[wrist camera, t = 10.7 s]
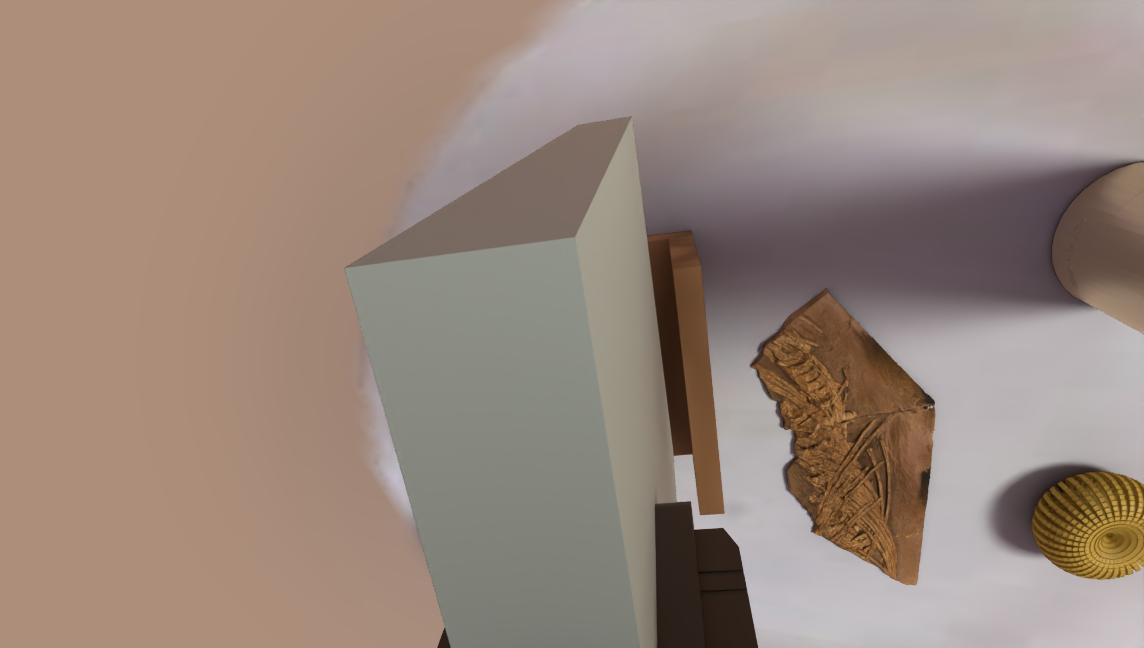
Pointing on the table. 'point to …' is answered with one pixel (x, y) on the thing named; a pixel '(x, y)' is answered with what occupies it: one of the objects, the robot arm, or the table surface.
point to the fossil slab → (853, 435)
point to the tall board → (530, 397)
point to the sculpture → (1092, 525)
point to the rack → (687, 360)
